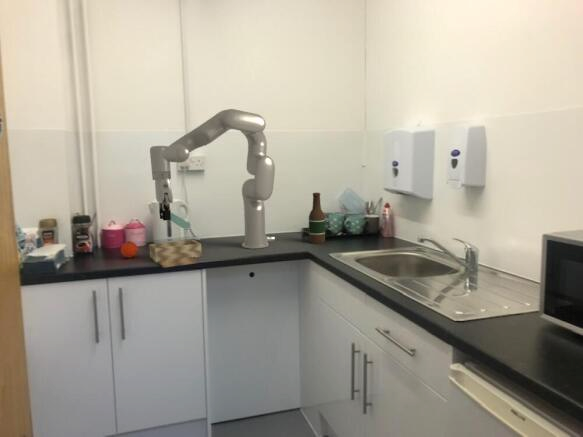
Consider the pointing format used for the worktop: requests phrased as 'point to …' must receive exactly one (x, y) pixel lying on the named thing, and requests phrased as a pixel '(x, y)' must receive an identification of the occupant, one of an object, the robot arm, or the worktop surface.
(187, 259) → the cork trivet
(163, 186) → the robot arm
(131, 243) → the clementine
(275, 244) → the worktop surface
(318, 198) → the beer bottle
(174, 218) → the teal block
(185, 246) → the woven basket
